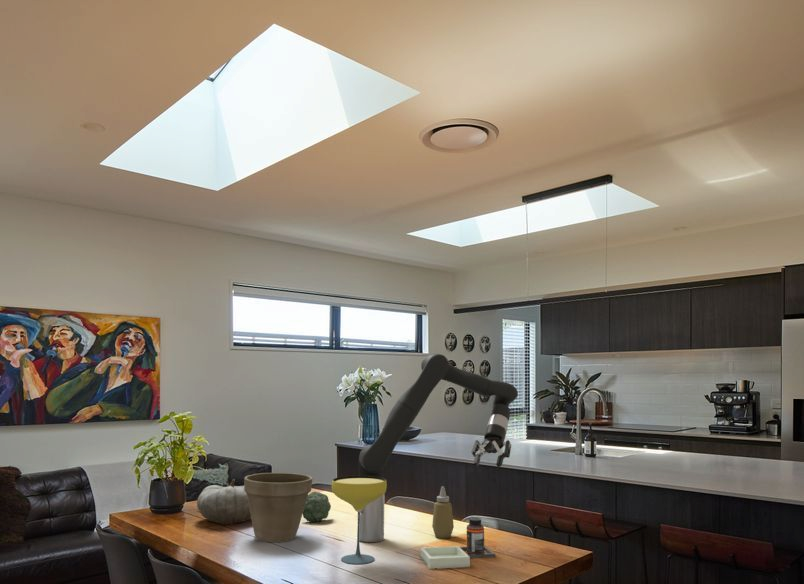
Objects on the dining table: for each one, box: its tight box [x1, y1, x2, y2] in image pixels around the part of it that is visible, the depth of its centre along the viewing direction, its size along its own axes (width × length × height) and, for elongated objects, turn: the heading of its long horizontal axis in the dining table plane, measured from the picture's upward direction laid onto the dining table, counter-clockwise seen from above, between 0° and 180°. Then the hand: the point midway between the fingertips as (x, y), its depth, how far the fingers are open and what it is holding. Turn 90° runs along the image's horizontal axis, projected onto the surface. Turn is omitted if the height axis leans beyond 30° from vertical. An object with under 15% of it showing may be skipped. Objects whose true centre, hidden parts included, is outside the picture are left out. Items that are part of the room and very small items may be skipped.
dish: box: [419, 545, 471, 570], centre depth 198 cm, size 13×13×3 cm
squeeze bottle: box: [431, 486, 455, 539], centre depth 232 cm, size 8×8×18 cm
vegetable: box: [302, 491, 332, 523], centre depth 257 cm, size 12×13×15 cm
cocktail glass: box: [331, 475, 388, 565], centre depth 201 cm, size 18×18×25 cm
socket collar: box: [459, 545, 496, 559], centre depth 208 cm, size 10×10×1 cm
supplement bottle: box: [466, 517, 485, 554], centre depth 209 cm, size 6×6×11 cm
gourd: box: [196, 478, 252, 526], centre depth 253 cm, size 25×25×17 cm
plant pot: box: [243, 472, 313, 543], centre depth 228 cm, size 25×25×22 cm
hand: (487, 465), depth 223 cm, fingers open, 8 cm apart
